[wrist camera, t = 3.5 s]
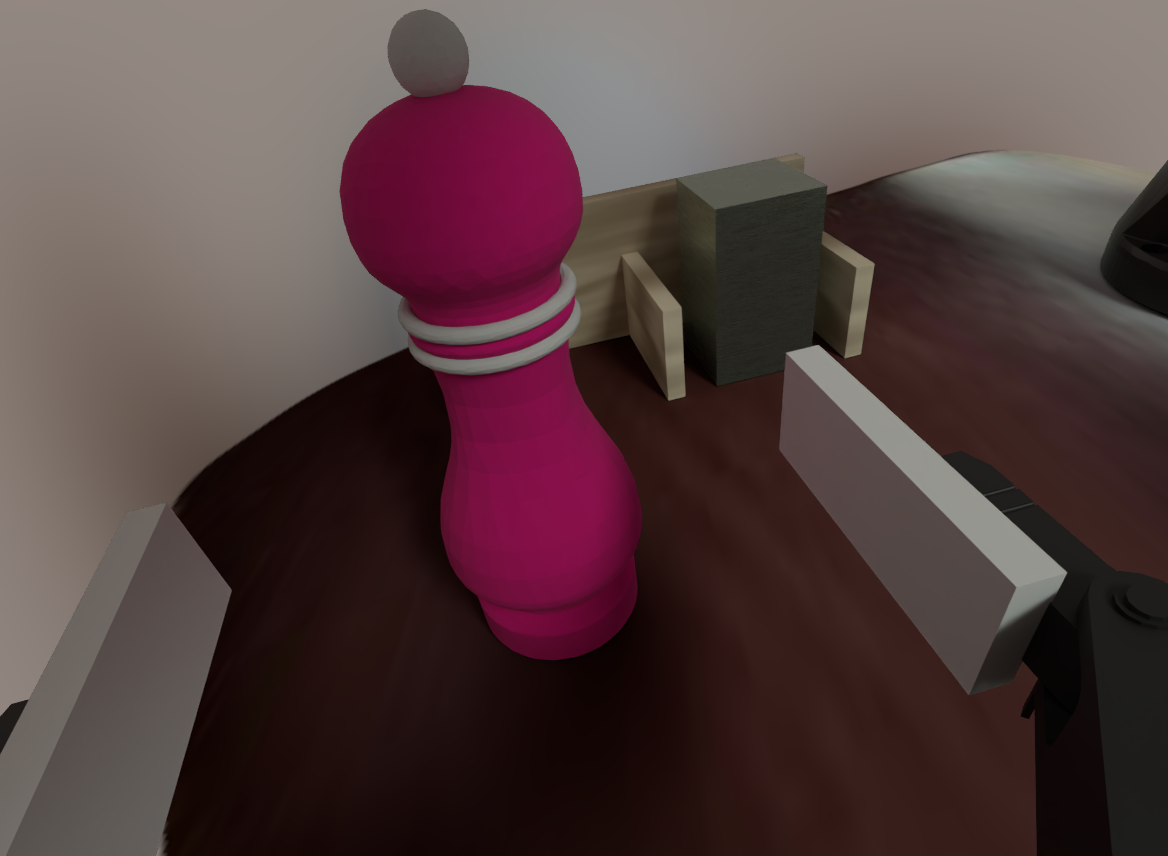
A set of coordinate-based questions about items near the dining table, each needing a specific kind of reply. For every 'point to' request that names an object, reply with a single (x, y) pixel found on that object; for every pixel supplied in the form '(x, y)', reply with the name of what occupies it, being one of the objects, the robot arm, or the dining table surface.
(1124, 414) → the dining table surface
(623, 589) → the pepper mill
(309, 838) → the dining table surface
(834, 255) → the spice rack
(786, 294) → the tea tin
